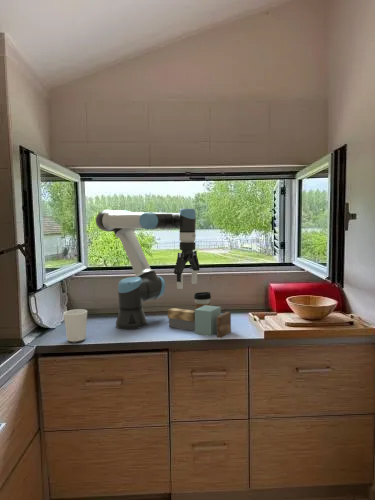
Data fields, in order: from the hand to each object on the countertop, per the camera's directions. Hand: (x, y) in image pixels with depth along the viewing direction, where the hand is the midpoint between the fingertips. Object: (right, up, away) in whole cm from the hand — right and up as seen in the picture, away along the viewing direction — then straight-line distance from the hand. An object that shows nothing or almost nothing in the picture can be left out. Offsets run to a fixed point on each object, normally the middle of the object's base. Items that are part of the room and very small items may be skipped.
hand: (187, 286), depth 163 cm
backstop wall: (+16, -20, -10) cm, 28 cm away
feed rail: (-2, -20, +1) cm, 20 cm away
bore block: (+10, -20, -6) cm, 23 cm away
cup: (-48, -22, -14) cm, 55 cm away
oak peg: (-2, -16, +1) cm, 16 cm away
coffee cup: (+8, -19, +10) cm, 23 cm away
